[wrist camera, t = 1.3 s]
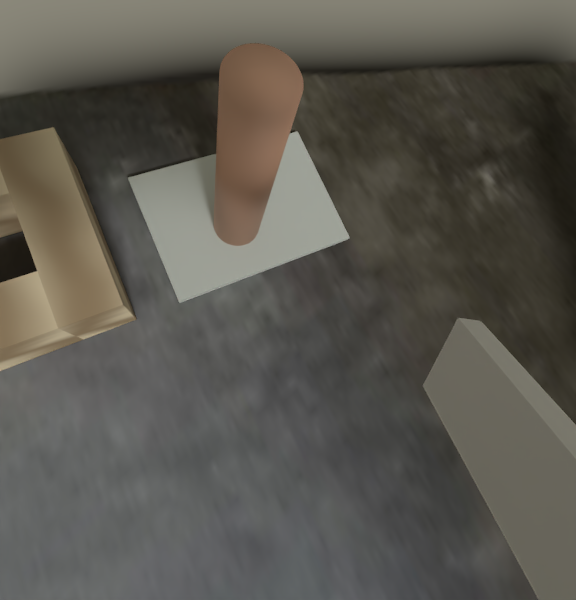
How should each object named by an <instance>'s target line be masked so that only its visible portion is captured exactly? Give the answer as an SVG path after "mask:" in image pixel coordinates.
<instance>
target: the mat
mask: <svg viewBox="0 0 576 600" xmlns="http://www.w3.org/2000/svg"><path fill="white" fill-rule="evenodd" d="M215 173H216V154H213V155H209V156H206V157H202V158H198V159H195V160H191V161H187V162H184V163H180V164H176V165H173V166H169V167H165V168H162V169H158V170H154V171H151V172H147V173H143V174H140V175H136V176H132V177H129V178H128V180H129V182H130V185H131V187H132V190H133V192H134V194H135V197H136V199H137V202H138V204H139V207H140V209H141V211H142V214H143V216H144V219H145V221H146V224H147V226H148V228H149V231H150V233H151V236H152V238H153V240H154V243H155V245H156V248H157V250H158V253H159V255H160V257H161V260H162V262H163V265H164V267H165V269H166V272H167V274H168V277H169V279H170V282H171V284H172V286H173V289H174V291H175V294H176V296H177V299H178V301H179V303H181V302H184V301H186V300H189V299H192V298H194V297H197V296H200V295H202V294H205V293H208V292H210V291H213V290H216V289H218V288H221V287H223V286H226V285H229V284H231V283H234V282H237V281H239V280H242V279H245V278H247V277H250V276H253V275H255V274H258V273H260V272H263V271H266V270H268V269H271V268H274V267H276V266H279V265H282V264H284V263H287V262H290V261H292V260H295V259H297V258H300V257H303V256H305V255H308V254H311V253H313V252H316V251H319V250H321V249H324V248H327V247H329V246H332V245H334V244H337V243H340V242H342V241H345V240H348V239H349V238H350V237H349V235H348V233H347V231H346V229H345V227H344V225H343V223H342V221H341V219H340V217H339V215H338V213H337V211H336V209H335V207H334V205H333V203H332V201H331V199H330V197H329V195H328V193H327V190H326V188H325V186H324V184H323V182H322V180H321V178H320V176H319V174H318V172H317V170H316V168H315V166H314V164H313V162H312V160H311V158H310V156H309V154H308V152H307V150H306V148H305V146H304V144H303V142H302V140H301V138H300V135H299V133H298V131H297V132H293V133H290V134H289V137H288V140H287V143H286V146H285V149H284V152H283V156H282V159H281V162H280V165H279V168H278V171H277V174H276V178H275V181H274V184H273V187H272V190H271V193H270V196H269V199H268V203H267V206H266V209H265V212H264V215H263V218H262V221H261V225H260V228H259V231H258V234H257V236H256V237H255V238H254V240H252V241H251V242H250V243H248V244H246V245H242V246H234V245H230V244H227V243H225V242H224V241H222V240H221V239H220V238H219V237H218V236H217V234H216V232H215V230H214V224H213V223H214V198H215Z"/></svg>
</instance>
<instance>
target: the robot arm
mask: <svg viewBox="0 0 576 600" xmlns="http://www.w3.org/2000/svg"><path fill="white" fill-rule="evenodd" d="M423 387H424V389H425V391H426V393H427V395H428V397H429V399H430V400H431V402H432V404H433V406H434V408H435V410H436V411H437V413H438V415H439V417H440V419H441V421H442V422H443V424H444V426H445V428H446V430H447V432H448V434H449V435H450V437H451V439H452V441H453V443H454V445H455V446H456V448H457V450H458V452H459V454H460V456H461V458H462V459H463V461H464V463H465V465H466V467H467V469H468V470H469V472H470V474H471V476H472V478H473V480H474V481H475V483H476V485H477V487H478V489H479V491H480V493H481V494H482V496H483V498H484V500H485V502H486V504H487V505H488V507H489V509H490V511H491V513H492V515H493V517H494V518H495V520H496V522H497V524H498V526H499V528H500V529H501V531H502V533H503V535H504V537H505V539H506V541H507V542H508V544H509V546H510V548H511V550H512V552H513V553H514V555H515V557H516V559H517V561H518V563H519V564H520V566H521V568H522V570H523V572H524V574H525V576H526V577H527V579H528V581H529V583H530V585H531V587H532V588H533V590H534V592H535V594H536V596H537V598H538V600H576V425H575V424H574V423H573V421H572V420H571V419H570V418H569V417H568V416H567V415H566V414H565V413H564V412H563V411H562V409H561V408H560V407H559V406H558V405H557V404H556V403H555V402H554V401H553V400H552V398H551V397H550V396H549V395H548V394H547V393H546V392H545V391H544V390H543V389H542V388H541V386H540V385H539V384H538V383H537V382H536V381H535V380H534V379H533V378H532V377H531V375H530V374H529V373H528V372H527V371H526V370H525V369H524V368H523V367H522V366H521V364H520V363H519V362H518V361H517V360H516V359H515V358H514V357H513V356H512V355H511V354H510V352H509V351H508V350H507V349H506V348H505V347H504V346H503V345H502V344H501V343H500V341H499V340H498V339H497V338H496V337H495V336H494V335H493V334H492V333H491V332H490V331H489V329H488V328H487V327H486V326H485V325H484V324H483V323H482V322H481V321H477V320H470V319H463V318H458V319H457V321H456V323H455V325H454V327H453V329H452V331H451V333H450V334H449V336H448V338H447V340H446V342H445V344H444V346H443V348H442V350H441V352H440V354H439V356H438V358H437V359H436V361H435V363H434V365H433V367H432V369H431V371H430V373H429V375H428V377H427V379H426V381H425V383H424V384H423Z"/></svg>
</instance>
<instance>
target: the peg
mask: <svg viewBox="0 0 576 600" xmlns="http://www.w3.org/2000/svg"><path fill="white" fill-rule="evenodd" d="M302 93H303V78H302V74H301V72H300V70H299V68H298V66H297V65H296V64H295V62H294V61H293V60H292V59H291V58H290V57H289V56H288V55H286V54H285V53H284V52H282V51H281V50H279V49H277V48H274V47H272V46H269V45H265V44H259V43H250V44H244V45H240V46H238V47H236V48H234V49H232V50H231V51H230V52H228V54H227V55H226V56H225V57H224V59H223V61H222V63H221V66H220V73H219V98H218V123H217V148H216V173H215V198H214V223H213V224H214V230H215V232H216V234H217V236H218V237H219V238H220V239H221V240H222V241H224V242H225V243H227V244H230V245H234V246H242V245H246V244H248V243H250V242H251V241H252V240H254V238H255V237H256V236H257V234H258V231H259V228H260V225H261V221H262V218H263V215H264V212H265V209H266V206H267V203H268V199H269V196H270V193H271V190H272V187H273V184H274V181H275V178H276V174H277V171H278V168H279V165H280V162H281V159H282V156H283V152H284V149H285V146H286V143H287V140H288V137H289V134H290V130H291V127H292V124H293V121H294V118H295V115H296V112H297V109H298V105H299V102H300V99H301V96H302Z"/></svg>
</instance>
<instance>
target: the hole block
mask: <svg viewBox="0 0 576 600" xmlns="http://www.w3.org/2000/svg"><path fill="white" fill-rule="evenodd" d="M22 231H23V233H24V236H25V239H26V241H27V244H28V247H29V250H30V252H31V255H32V258H33V261H34V263H35V266H36V269H37V271H36V272H32V273H29V274H26V275H23V276H20V277H17V278H14V279H11V280H7V281H4V282H1V283H0V371H1V370H4V369H7V368H9V367H12V366H15V365H17V364H20V363H23V362H25V361H28V360H30V359H33V358H36V357H38V356H41V355H44V354H46V353H49V352H52V351H54V350H57V349H60V348H62V347H65V346H68V345H70V344H73V343H75V342H78V341H81V340H83V339H86V338H89V337H91V336H94V335H97V334H99V333H102V332H105V331H107V330H110V329H112V328H115V327H118V326H120V325H123V324H126V323H128V322H131V321H134V320H136V316H135V314H134V311H133V308H132V306H131V303H130V301H129V298H128V296H127V293H126V291H125V288H124V286H123V283H122V281H121V278H120V276H119V273H118V270H117V268H116V265H115V263H114V260H113V258H112V255H111V253H110V250H109V248H108V245H107V243H106V240H105V237H104V235H103V232H102V230H101V227H100V225H99V222H98V220H97V217H96V215H95V212H94V210H93V207H92V204H91V202H90V199H89V197H88V194H87V192H86V189H85V187H84V184H83V182H82V179H81V177H80V174H79V172H78V169H77V167H76V165H75V164H74V162H73V160H72V158H71V157H70V155H69V153H68V151H67V150H66V148H65V146H64V144H63V143H62V141H61V139H60V137H59V136H58V134H57V132H56V130H55V129H54V127H52V128H48V129H43V130H39V131H34V132H30V133H25V134H21V135H16V136H12V137H8V138H3V139H0V238H1V237H5V236H8V235H11V234H15V233H18V232H22Z"/></svg>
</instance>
